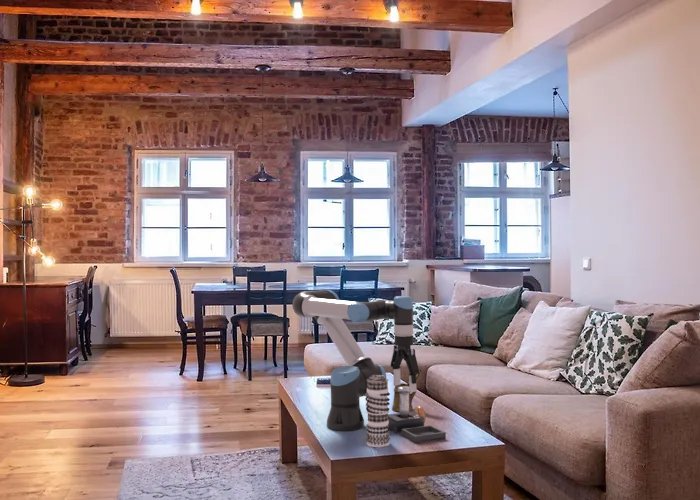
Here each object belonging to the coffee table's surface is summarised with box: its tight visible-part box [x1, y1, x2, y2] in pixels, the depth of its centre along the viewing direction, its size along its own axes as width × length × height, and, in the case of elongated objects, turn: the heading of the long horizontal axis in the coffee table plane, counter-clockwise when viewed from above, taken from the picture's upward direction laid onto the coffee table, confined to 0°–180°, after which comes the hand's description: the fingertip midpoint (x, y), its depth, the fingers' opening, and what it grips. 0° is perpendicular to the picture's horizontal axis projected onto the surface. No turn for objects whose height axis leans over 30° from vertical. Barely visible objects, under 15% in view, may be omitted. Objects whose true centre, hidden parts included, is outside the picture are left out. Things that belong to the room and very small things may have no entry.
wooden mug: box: [391, 368, 423, 413], centre depth 290 cm, size 9×14×18 cm, turn 96°
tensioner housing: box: [388, 405, 427, 434], centre depth 260 cm, size 15×10×8 cm
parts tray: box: [401, 424, 447, 444], centre depth 247 cm, size 13×11×2 cm
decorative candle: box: [365, 375, 391, 448], centre depth 240 cm, size 9×9×25 cm
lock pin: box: [398, 386, 410, 419], centre depth 259 cm, size 5×5×16 cm
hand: (404, 388), depth 259 cm, fingers open, 13 cm apart
